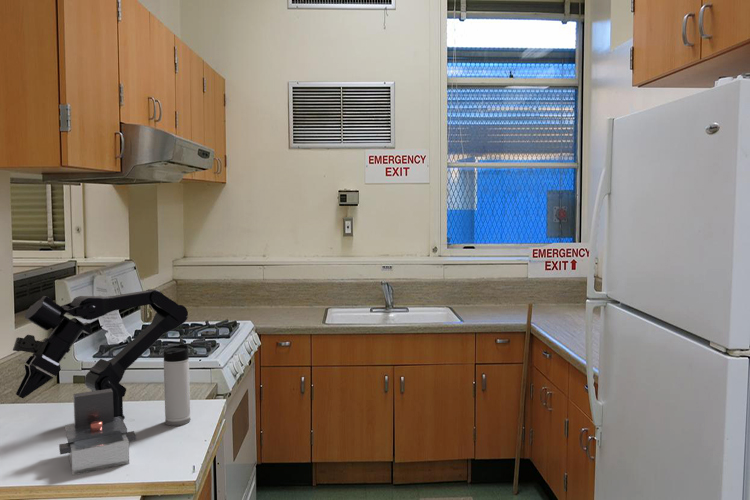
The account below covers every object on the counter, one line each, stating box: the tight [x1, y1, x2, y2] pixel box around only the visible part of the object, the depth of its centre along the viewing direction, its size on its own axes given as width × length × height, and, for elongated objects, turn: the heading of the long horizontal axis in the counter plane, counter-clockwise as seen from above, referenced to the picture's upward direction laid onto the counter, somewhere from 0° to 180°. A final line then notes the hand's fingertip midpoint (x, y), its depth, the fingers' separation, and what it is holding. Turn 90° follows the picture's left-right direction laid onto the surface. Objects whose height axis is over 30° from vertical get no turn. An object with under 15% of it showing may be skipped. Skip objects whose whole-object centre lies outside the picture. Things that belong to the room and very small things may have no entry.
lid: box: [64, 389, 128, 443], centre depth 132 cm, size 10×12×8 cm
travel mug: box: [163, 343, 191, 427], centre depth 153 cm, size 6×7×20 cm
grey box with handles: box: [58, 430, 137, 476], centre depth 128 cm, size 10×15×5 cm, turn 121°
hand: (19, 396), depth 140 cm, fingers open, 9 cm apart
